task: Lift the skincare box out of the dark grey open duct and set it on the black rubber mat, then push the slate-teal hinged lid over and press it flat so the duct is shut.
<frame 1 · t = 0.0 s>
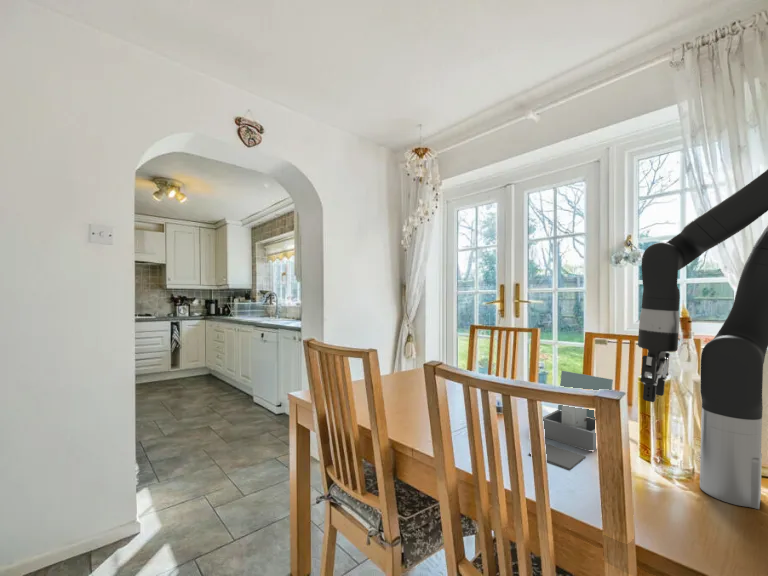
hand: (653, 397, 87), 17 cm above the table, tool pointing down, fingers open, 8 cm apart
rubber mat: (557, 456, 94), on the table
duct: (573, 438, 106), on the table
skincare box: (573, 438, 106), resting in duct
duct lid: (584, 395, 111), point 11 cm above the table, hinge at 100.0°
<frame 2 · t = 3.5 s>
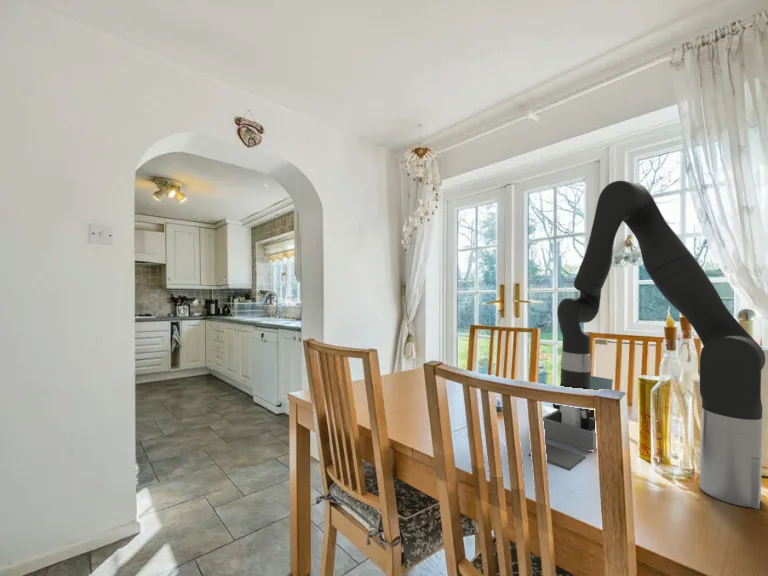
hand: (573, 427, 106), 3 cm above the table, tool pointing down, fingers closed on skincare box, 4 cm apart
skincare box: (573, 438, 106), resting in duct, touching gripper
everything else where it was.
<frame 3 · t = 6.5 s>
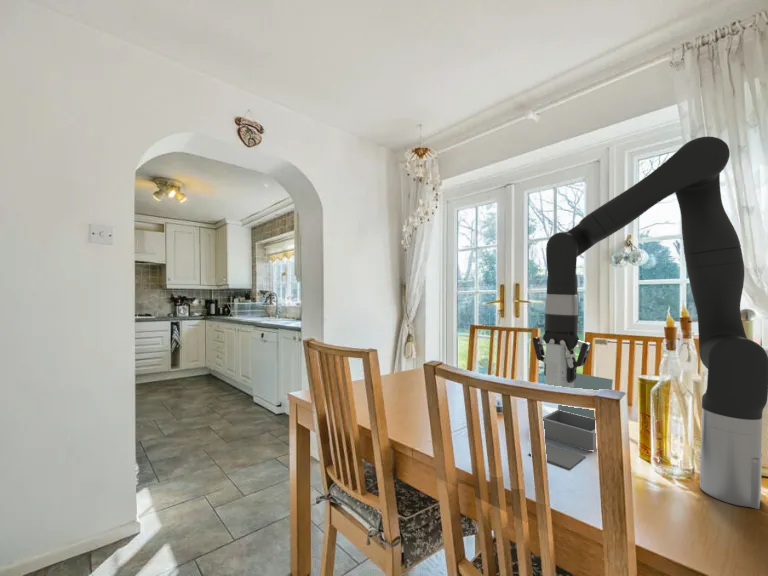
hand: (559, 379, 94), 19 cm above the table, tool pointing down, fingers closed on skincare box, 4 cm apart
skincare box: (559, 392, 94), point 16 cm above the table, touching gripper
everything else where it was.
when the fingers open (5 cm above the table, at t = 9.7 s): skincare box drops 1 cm, resting on rubber mat.
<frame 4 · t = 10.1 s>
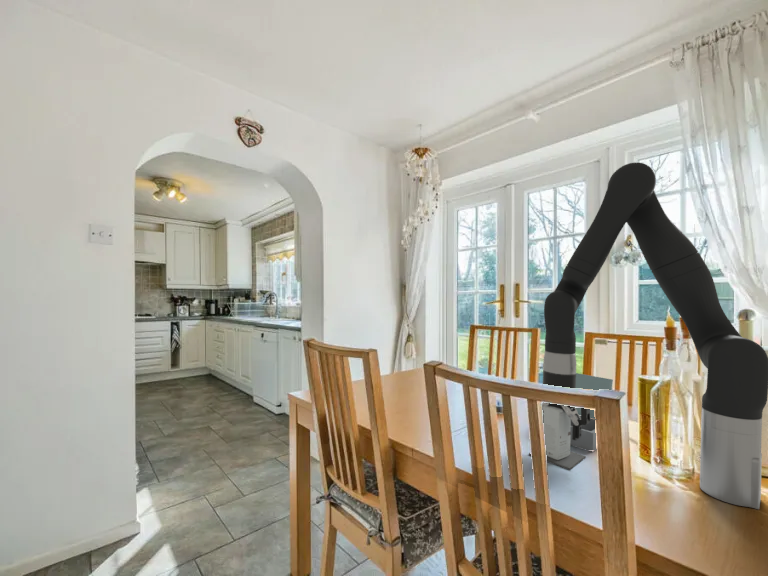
hand: (557, 434, 94), 6 cm above the table, tool pointing down, fingers open, 8 cm apart
skincare box: (556, 455, 94), resting on rubber mat
everything else where it was.
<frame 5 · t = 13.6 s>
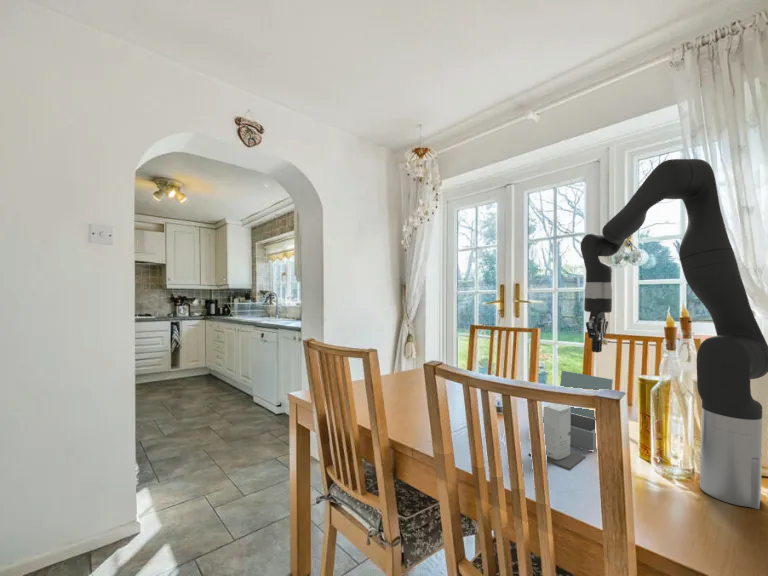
hand: (596, 351, 117), 23 cm above the table, tool pointing down, fingers closed
nothing on the table moved.
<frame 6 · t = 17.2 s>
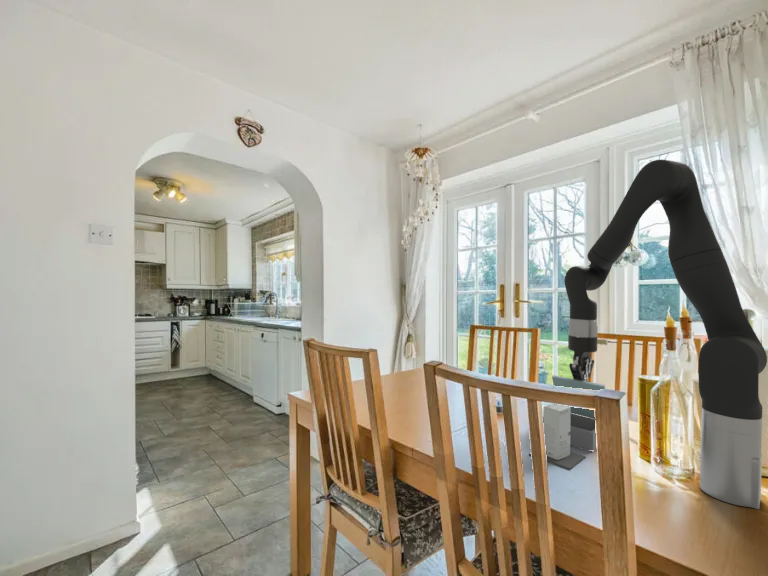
hand: (581, 393, 109), 12 cm above the table, tool pointing down, fingers closed
duct lid: (579, 397, 109), point 11 cm above the table, hinge at 65.6°, touching gripper
everything else where it was.
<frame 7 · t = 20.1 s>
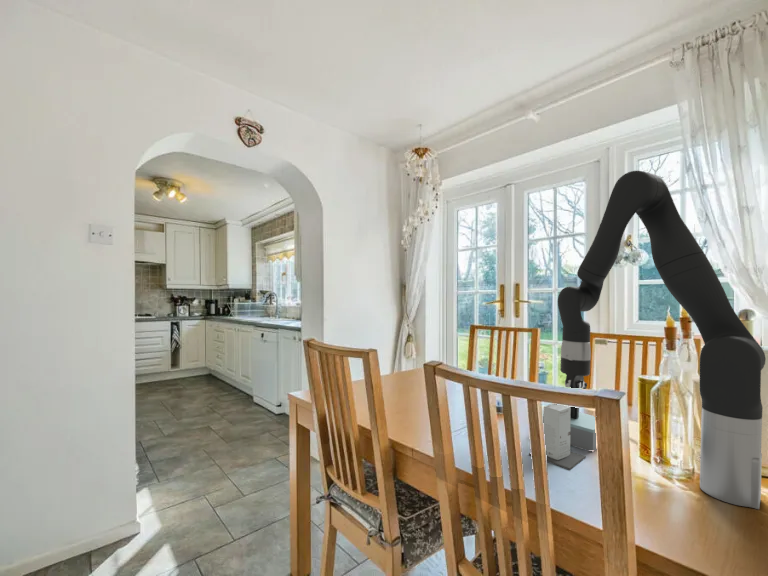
hand: (573, 417, 106), 6 cm above the table, tool pointing down, fingers closed
duct lid: (574, 418, 106), point 5 cm above the table, hinge at -0.5°, touching duct, gripper
everything else where it was.
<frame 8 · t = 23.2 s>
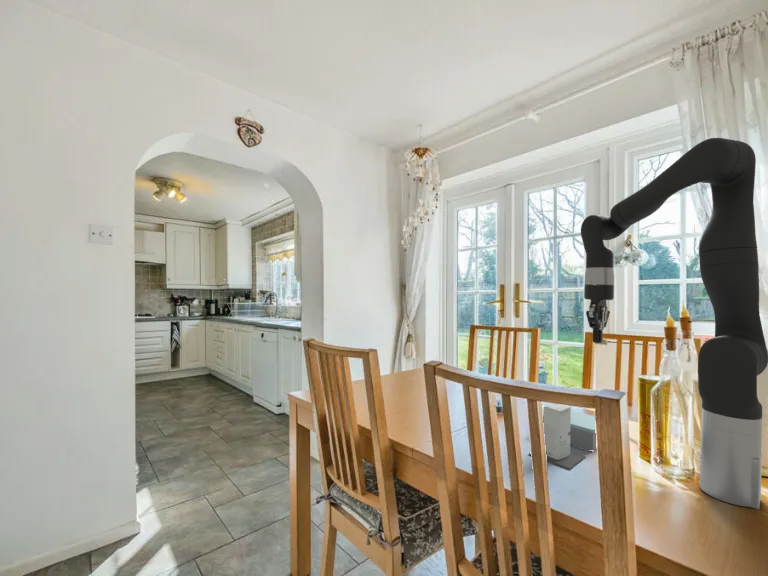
hand: (597, 342, 109), 27 cm above the table, tool pointing down, fingers closed
duct lid: (574, 418, 106), point 5 cm above the table, hinge at -0.5°, touching duct
everything else where it was.
at the end: duct lid at +0° (first picture: +100°); skincare box inside the target area on the rubber mat (0.2 cm from its centre), point 0.2 cm above the rubber mat's base; skincare box tilted 0° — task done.
